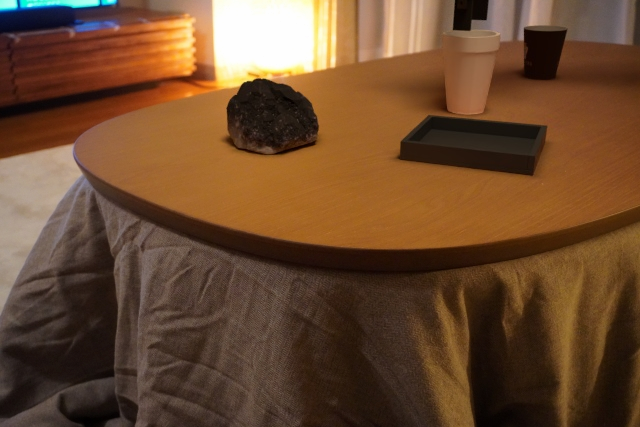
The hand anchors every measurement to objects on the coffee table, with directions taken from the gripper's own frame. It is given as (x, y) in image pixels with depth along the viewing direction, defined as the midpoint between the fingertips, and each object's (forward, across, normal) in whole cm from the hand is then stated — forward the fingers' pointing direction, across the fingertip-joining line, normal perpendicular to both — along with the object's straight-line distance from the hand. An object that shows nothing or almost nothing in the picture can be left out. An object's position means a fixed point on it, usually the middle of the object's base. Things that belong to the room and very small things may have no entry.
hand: (470, 25), depth 103 cm
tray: (+14, +22, +6) cm, 27 cm away
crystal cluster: (+15, +28, -23) cm, 39 cm away
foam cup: (+14, 0, 0) cm, 15 cm away
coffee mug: (+14, -34, +9) cm, 38 cm away
